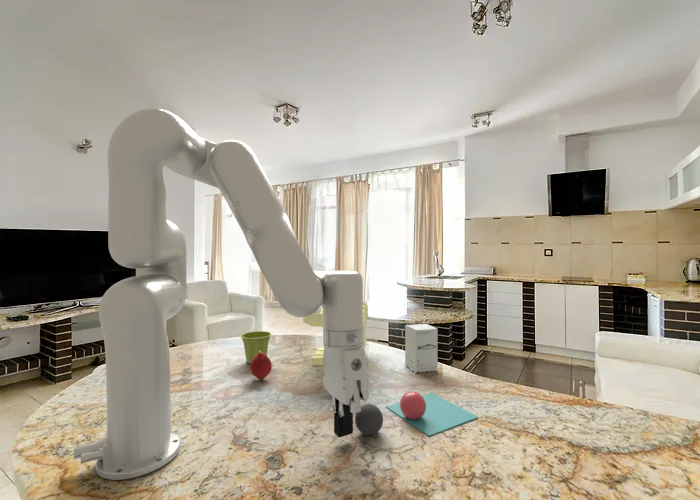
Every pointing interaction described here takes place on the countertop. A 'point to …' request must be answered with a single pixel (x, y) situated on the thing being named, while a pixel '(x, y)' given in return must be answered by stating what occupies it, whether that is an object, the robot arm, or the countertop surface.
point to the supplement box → (421, 347)
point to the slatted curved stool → (317, 320)
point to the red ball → (412, 405)
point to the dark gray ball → (369, 419)
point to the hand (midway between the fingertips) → (343, 433)
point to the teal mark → (436, 415)
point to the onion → (260, 366)
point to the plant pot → (255, 343)
